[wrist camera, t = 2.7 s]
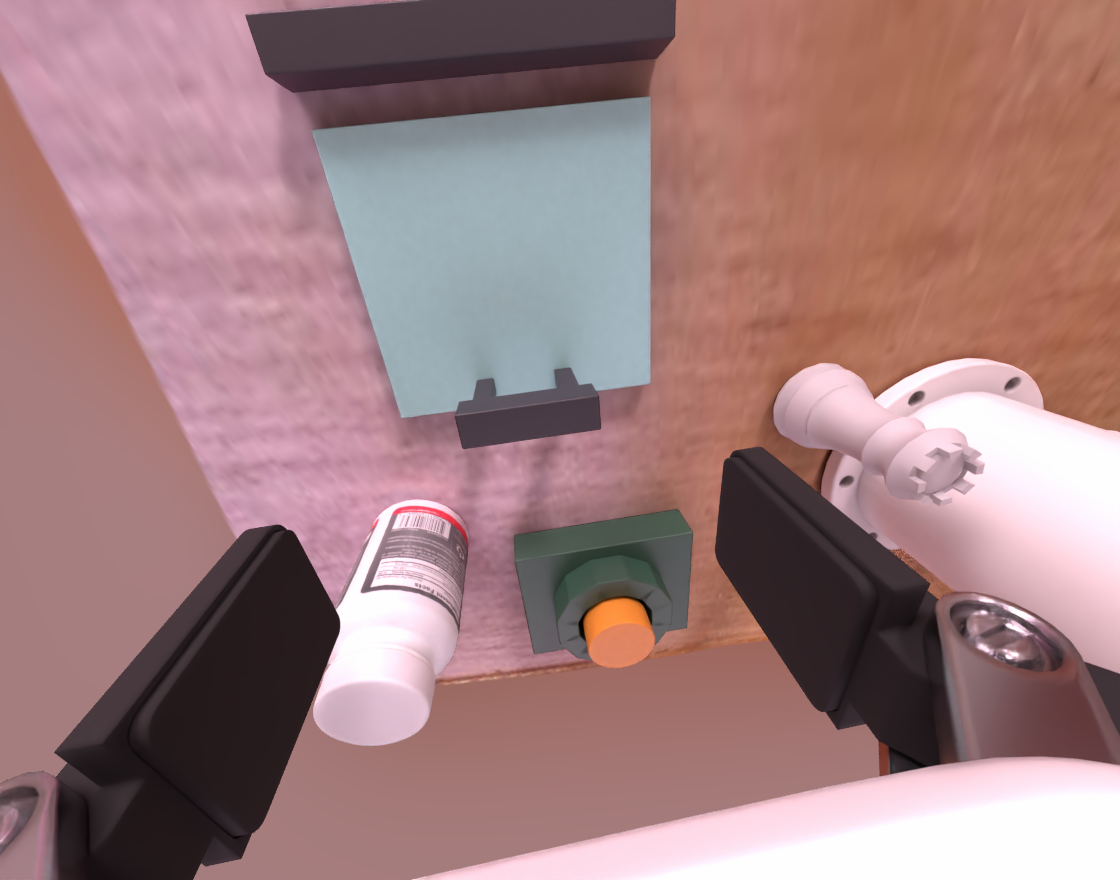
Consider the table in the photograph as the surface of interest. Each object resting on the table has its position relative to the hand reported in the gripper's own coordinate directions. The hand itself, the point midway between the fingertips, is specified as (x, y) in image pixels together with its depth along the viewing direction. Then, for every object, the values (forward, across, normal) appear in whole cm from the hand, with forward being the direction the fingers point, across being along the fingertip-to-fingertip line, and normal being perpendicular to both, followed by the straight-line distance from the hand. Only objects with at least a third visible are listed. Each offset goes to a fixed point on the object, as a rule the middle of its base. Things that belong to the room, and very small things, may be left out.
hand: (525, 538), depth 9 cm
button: (+8, -4, +14) cm, 16 cm away
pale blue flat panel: (+12, -1, -4) cm, 13 cm away
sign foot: (+12, -1, -12) cm, 17 cm away
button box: (+12, -4, +14) cm, 18 cm away
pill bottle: (+12, +6, +9) cm, 16 cm away
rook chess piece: (+12, -16, +4) cm, 20 cm away
